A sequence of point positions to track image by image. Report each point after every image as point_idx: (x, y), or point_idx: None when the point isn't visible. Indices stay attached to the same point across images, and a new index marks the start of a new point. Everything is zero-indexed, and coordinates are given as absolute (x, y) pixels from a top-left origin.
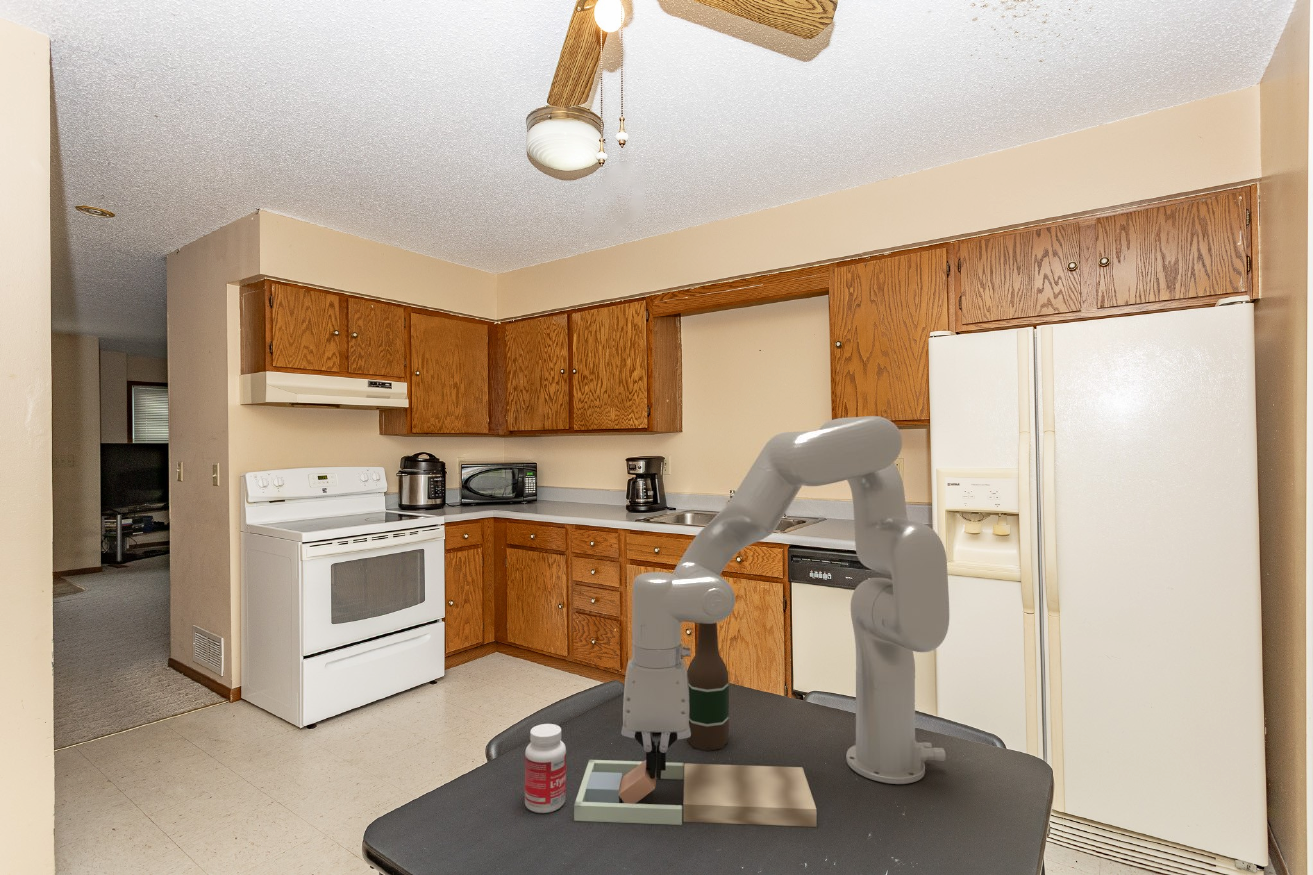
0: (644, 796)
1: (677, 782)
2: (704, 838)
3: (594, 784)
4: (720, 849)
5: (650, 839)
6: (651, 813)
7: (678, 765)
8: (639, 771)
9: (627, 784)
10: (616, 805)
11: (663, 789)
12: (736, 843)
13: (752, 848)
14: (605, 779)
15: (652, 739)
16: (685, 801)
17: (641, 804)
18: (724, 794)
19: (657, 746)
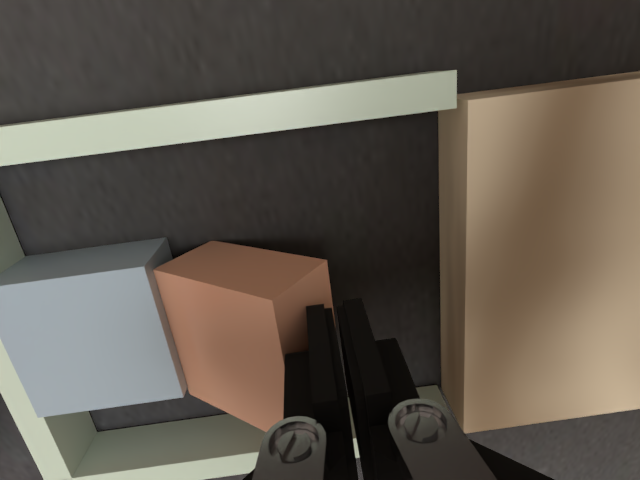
0: None
1: (405, 136)
2: (504, 442)
3: (58, 384)
4: (544, 471)
5: None
6: None
7: (428, 109)
8: (253, 366)
9: (211, 378)
10: (211, 472)
11: (348, 208)
12: (593, 442)
13: (632, 451)
14: (87, 338)
15: (327, 464)
16: (471, 418)
17: None
18: (632, 344)
19: (362, 416)
